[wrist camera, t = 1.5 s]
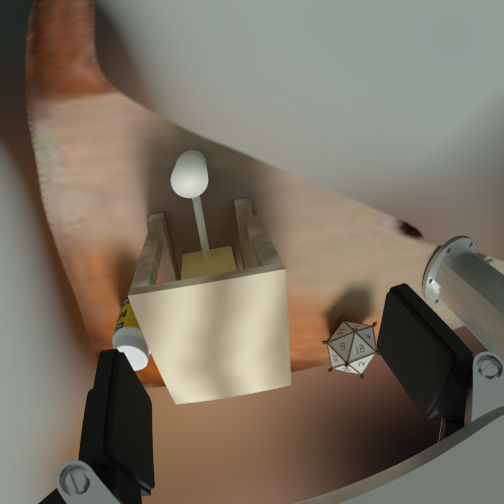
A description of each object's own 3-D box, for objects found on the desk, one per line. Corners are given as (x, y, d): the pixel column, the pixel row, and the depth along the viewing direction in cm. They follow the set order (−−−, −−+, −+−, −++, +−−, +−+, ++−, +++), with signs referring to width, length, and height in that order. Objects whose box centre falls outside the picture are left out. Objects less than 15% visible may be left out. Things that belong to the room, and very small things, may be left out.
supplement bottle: (125, 290, 35) (112, 336, 28) (162, 302, 37) (156, 350, 29) (118, 319, 37) (105, 366, 29) (152, 329, 38) (146, 377, 31)
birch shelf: (254, 196, 33) (283, 244, 22) (267, 315, 40) (290, 385, 29) (143, 216, 31) (119, 273, 21) (177, 330, 39) (175, 404, 28)
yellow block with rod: (216, 145, 29) (221, 156, 23) (237, 286, 37) (245, 323, 31) (162, 155, 29) (152, 168, 23) (192, 294, 37) (193, 332, 31)
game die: (339, 305, 46) (394, 309, 38) (348, 351, 47) (400, 361, 39) (300, 331, 41) (358, 342, 33) (311, 380, 43) (366, 397, 34)
